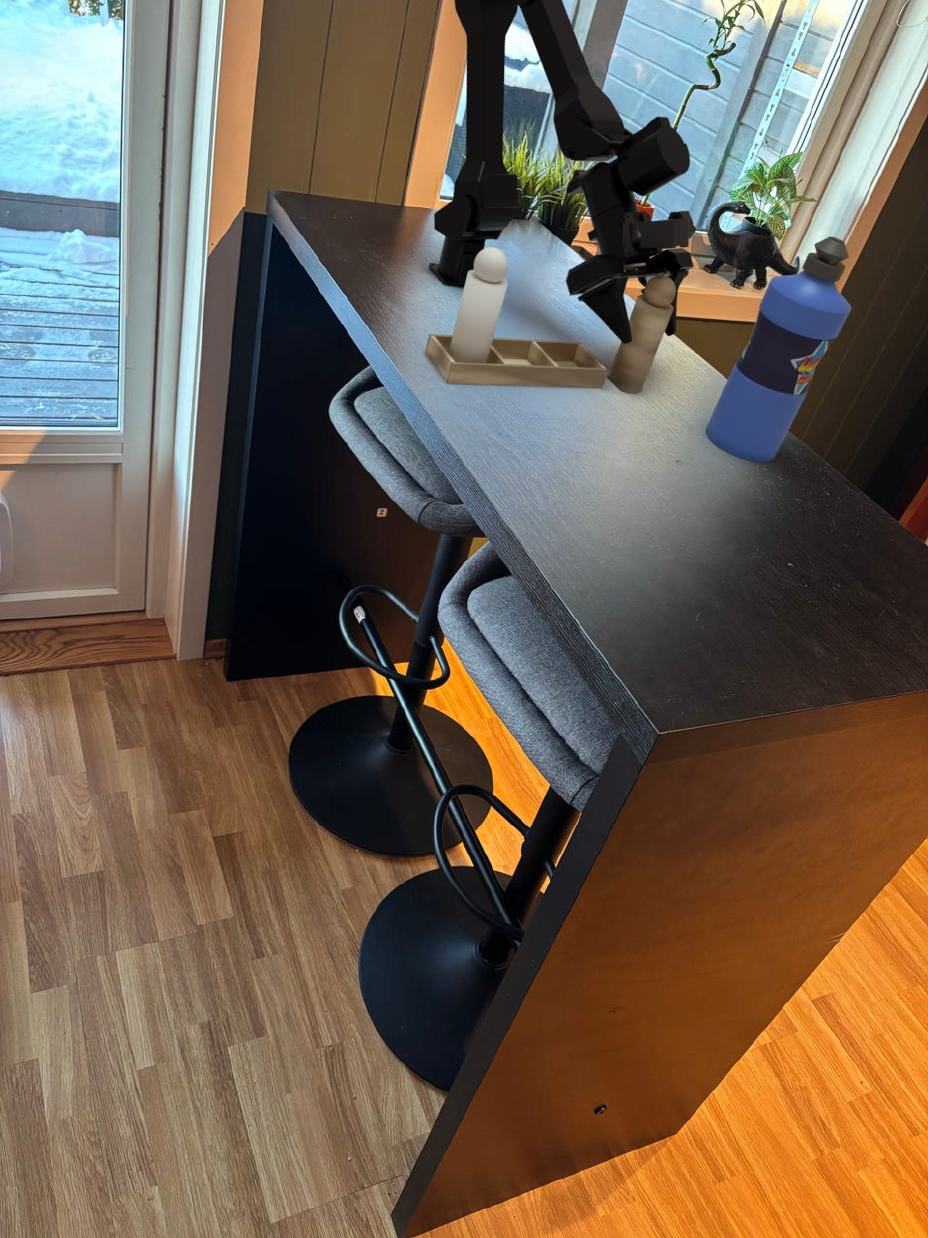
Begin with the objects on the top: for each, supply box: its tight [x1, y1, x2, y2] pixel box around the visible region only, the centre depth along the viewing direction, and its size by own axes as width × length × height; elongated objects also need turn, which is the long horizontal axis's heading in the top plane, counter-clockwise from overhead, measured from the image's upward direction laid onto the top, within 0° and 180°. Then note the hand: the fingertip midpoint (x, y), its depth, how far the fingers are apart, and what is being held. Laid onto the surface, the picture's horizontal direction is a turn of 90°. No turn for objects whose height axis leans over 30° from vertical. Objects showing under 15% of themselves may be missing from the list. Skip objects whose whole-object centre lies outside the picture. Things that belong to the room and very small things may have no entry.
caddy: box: [424, 333, 609, 389], centre depth 115 cm, size 7×21×3 cm, turn 113°
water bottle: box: [705, 236, 852, 463], centre depth 110 cm, size 9×9×25 cm
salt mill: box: [449, 246, 509, 363], centre depth 108 cm, size 5×5×14 cm
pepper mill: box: [607, 275, 676, 394], centre depth 118 cm, size 5×5×14 cm
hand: (650, 338), depth 118 cm, fingers open, 9 cm apart
